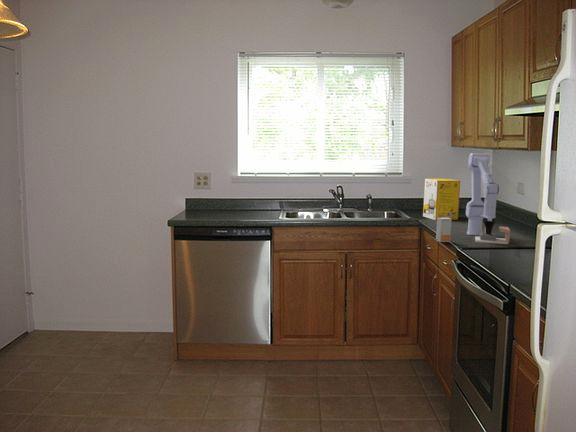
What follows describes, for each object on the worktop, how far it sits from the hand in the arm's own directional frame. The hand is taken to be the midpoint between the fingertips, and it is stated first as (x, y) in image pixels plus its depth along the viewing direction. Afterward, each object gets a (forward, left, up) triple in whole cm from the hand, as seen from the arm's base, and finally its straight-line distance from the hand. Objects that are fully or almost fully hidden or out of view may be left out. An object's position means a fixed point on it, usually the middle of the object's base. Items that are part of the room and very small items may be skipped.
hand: (488, 233), depth 311 cm
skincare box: (+11, -22, -4) cm, 25 cm away
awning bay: (0, +2, -4) cm, 4 cm away
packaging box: (-79, -26, -4) cm, 83 cm away
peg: (0, 0, -3) cm, 3 cm away
